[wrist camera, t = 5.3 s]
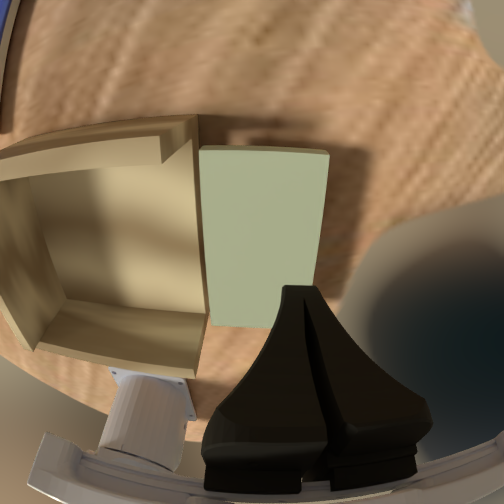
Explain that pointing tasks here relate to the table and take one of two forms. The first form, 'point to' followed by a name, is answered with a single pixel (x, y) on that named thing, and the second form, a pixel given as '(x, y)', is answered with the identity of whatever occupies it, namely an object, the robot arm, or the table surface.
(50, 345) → the crate
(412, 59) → the table surface
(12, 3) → the hard drive
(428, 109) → the table surface
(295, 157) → the panel
